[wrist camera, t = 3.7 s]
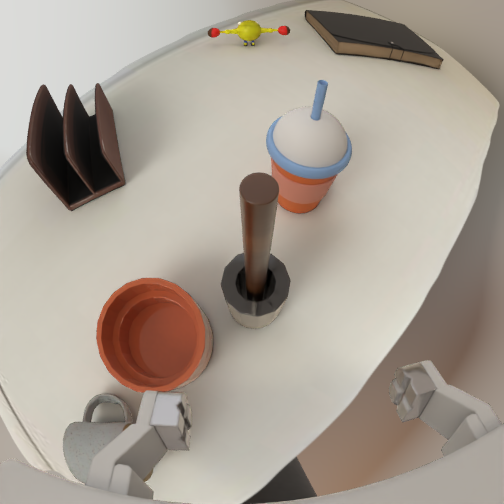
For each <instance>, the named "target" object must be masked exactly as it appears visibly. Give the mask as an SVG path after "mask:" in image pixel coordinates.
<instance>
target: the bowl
mask: <svg viewBox="0 0 504 504" xmlns="http://www.w3.org/2000/svg"><path fill="white" fill-rule="evenodd" d="M96 339H97V344H98V349H99V353H100V357H101V359H102V361H103V362H104V364H105V366H106V368H107V370H108V371H109V373H110V374H111V375H112V376H113V377H114V378H116V379H117V380H118V381H119V382H120V383H121V384H122V385H124V386H126V387H128V388H130V389H132V390H134V391H136V392H142V393H144V392H145V391H146V390H150V391H170V390H174V389H177V388H181V387H184V386H186V385H188V384H189V383H191V382H192V381H194V380H195V379H197V378H198V377H199V376H200V374H201V373H202V372H203V371H204V369H205V368H206V367H207V365H208V363H209V360H210V357H211V354H212V351H213V333H212V330H211V326H210V323H209V320H208V318H207V316H206V315H205V313H204V312H203V311H202V309H201V308H200V306H199V305H198V304H197V303H196V302H195V301H194V299H193V298H192V297H191V296H190V295H189V294H188V293H187V292H185V291H184V290H183V289H182V288H180V287H179V286H178V285H176V284H175V283H172V282H169V281H166V280H163V279H159V278H141V279H138V280H135V281H132V282H129V283H126V284H125V285H124V286H122V287H121V288H119V289H118V290H117V291H115V292H114V293H113V294H112V295H111V297H110V298H109V299H108V301H107V302H106V303H105V305H104V306H103V309H102V311H101V314H100V317H99V319H98V323H97V337H96Z"/></svg>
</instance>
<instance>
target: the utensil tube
mask: <svg viewBox="0 0 504 504" xmlns="http://www.w3.org/2000/svg"><path fill="white" fill-rule="evenodd" d="M289 286H290V278H289V275H288V273H287V270H286V268H285V265H284V264H283V263H282V262H281V261H280V260H278V259H277V258H276V257H275V256H273V255H272V254H270V257H269V263H268V270H267V276H266V283H265V289H264V295H263V300H262V301H259V302H254V301H249V300H247V289H246V276H245V262H244V253H242V254H239V255H237V256H236V257H235V258H234V259H233V260H232V261H231V262H230V263H229V264H228V265H227V266H226V267H225V269H224V273H223V277H222V281H221V287H222V290H223V293H224V296H225V300H226V302H227V305H228V307H229V310H230V312H231V314H232V317H233V318H234V319H235V320H236V321H237V322H238V323H239V324H240V325H242V326H244V327H246V328H251V329H259V328H263V327H266V326H268V325H269V324H271V323H272V322H273V321H274V320H275V318H276V317H277V316H278V314H279V313H280V311H281V309H282V307H283V305H284V303H285V301H286V299H287V297H288V292H289Z"/></svg>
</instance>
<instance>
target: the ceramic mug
mask: <svg viewBox="0 0 504 504" xmlns="http://www.w3.org/2000/svg"><path fill="white" fill-rule="evenodd" d="M102 402H112V403H114V404H118V403H120V405H121V406H122V408H123V411H124V415H125V422H111V423H95V422H91V419H92V414H93V412H94V409H95V408H96V406H97V405H98V404H99V403H102ZM131 424H132V415H131V412H130V409H129V407H128V406H127V404H126V403H125V402H124V401H122V400H121V399H120V398H118V397H116V396H115V395H111V394H99V395H96V396H95V397H93V398H92V399H91V400H90V401H89V403H88V404H87V406H86V408H85V411H84V416H83V422H74V423H72V424H70V425H69V426H68V427H67V429H66V431H65V433H64V438H63V452H64V457H65V460H66V463H67V465H68V468H69V469H70V471H71V473H72V474H73V475H74V477H75V478H76V479H78V480H79V481H81V482H82V483H85V482H86V479H87V475H88V472H89V468H90V465H91V461H92V458H93V457H94V456H95V455H96V454H97V453H98V452H100V451H101V450H102V449H103V448H104V447H106V446H107V445H108V444H109V443H110V442H111V441H113V440H114V439H115V438H116V437H117V436H118V435H120V434H121V433H122V432H123V431H124V430H125V429H126V428H128V427H129V426H130V425H131ZM152 473H153V469H152V470H151V471H150V473H149V474H148V475H147V476H146V477H145V478H144V480H143V481H144V482H145V481H147V480H148V479H149V478H150V477H151V475H152Z"/></svg>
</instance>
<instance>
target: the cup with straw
mask: <svg viewBox="0 0 504 504" xmlns="http://www.w3.org/2000/svg"><path fill="white" fill-rule="evenodd" d="M327 86H328V83H327V82H326V81H324V80H319V81H318V84H317V89H316V94H315V99H314V104H313V107H299V108H295V109H293V110H291V111H289V112H287V113H286V114H284V115H283V116H281V117H280V118H278V119H277V120H276V121H274V122H273V124H272V125H271V126H270V128H269V130H268V133H267V137H266V144H267V149H268V152H269V154H270V156H271V164H272V177H273V178H274V179H275V180H276V181H277V183H278V185H279V196H278V203H279V204H280V205H281V206H282V207H283V208H285V209H286V210H288V211H290V212H294V213H306V212H309V211H311V210H313V209H314V208H315V207H316V206H317V205H318V204H319V202H320V201H321V199H322V198H323V197H324V196H325V195H326V193H327V192H328V190H329V188H330V186H331V185H332V183H333V181H334V180H335V178H336V176H337V174H338V173H340V172H341V171H342V170H343V169H344V168H345V167H346V166H347V165H348V163H349V161H350V158H351V154H352V146H351V141H350V139H349V137H348V135H347V133H346V132H345V130H344V128H343V126H342V124H341V123H340V122H339V120H338V119H337V118H336V117H334V116H333V115H332V114H331V113H329V112H327V111H325V110H323V109H322V108H323V103H324V99H325V95H326V90H327Z"/></svg>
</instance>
